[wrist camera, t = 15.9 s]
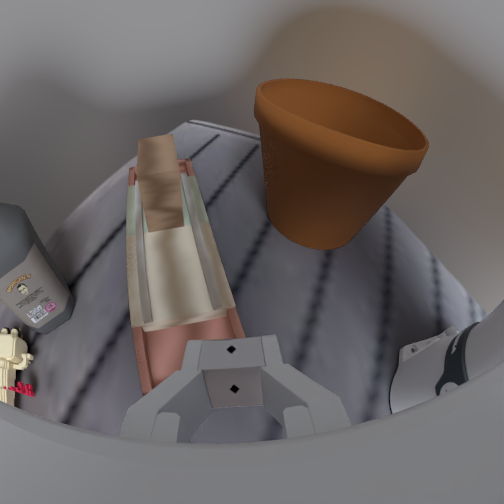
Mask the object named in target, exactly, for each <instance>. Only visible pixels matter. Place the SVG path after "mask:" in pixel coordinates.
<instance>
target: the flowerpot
mask: <svg viewBox="0 0 504 504" xmlns="http://www.w3.org/2000/svg"><path fill="white" fill-rule="evenodd" d="M254 116H255V118H256V120H257V121H258V123H259V128H260V138H261V148H262V158H263V168H264V178H265V189H266V200H267V210H268V216H269V218H270V221H271V222H272V224H273V225H274V227H275V228H276V229H277V230H278V231H279V232H280V233H281V234H282V235H284V236H285V237H286V238H288V239H289V240H291V241H293V242H295V243H297V244H299V245H302V246H305V247H308V248H313V249H321V250H329V249H336V248H339V247H342V246H344V245H345V244H347V243H348V242H349V241H350V240H351V239H352V238H353V237H354V236H355V235H356V234H357V233H358V232H359V231H360V230H361V228H362V227H363V226H364V225H365V224H366V223H367V222H368V221H369V220H370V219H371V217H372V216H373V215H374V214H375V213H376V212H377V211H378V210H379V209H380V207H381V206H382V205H383V204H384V203H385V202H386V200H387V199H388V198H389V197H390V196H391V195H392V194H393V193H394V191H395V190H396V189H397V188H398V187H399V186H400V184H401V183H402V182H403V181H404V180H405V178H406V177H407V176H409V175H411V174H413V173H415V172H416V171H417V170H418V168H419V167H420V165H421V163H422V160H423V158H424V156H425V154H426V152H427V150H428V147H429V143H428V140H427V138H426V136H425V135H424V134H423V133H422V131H421V130H420V129H419V128H418V127H416V125H414V124H413V123H412V122H410V120H408V119H407V118H406V117H404V116H403V115H401V114H400V113H398V112H397V111H395V110H393V109H392V108H390V107H388V106H386V105H384V104H383V103H380V102H379V101H376V100H374V99H372V98H370V97H368V96H365V95H362V94H360V93H357V92H354V91H352V90H349V89H346V88H342V87H339V86H335V85H331V84H327V83H322V82H317V81H310V80H302V79H275V80H270V81H265V82H263V83H261V84H259V86H258V87H257V90H256V98H255V105H254Z"/></svg>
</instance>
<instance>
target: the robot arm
mask: <svg viewBox="0 0 504 504" xmlns="http://www.w3.org/2000/svg"><path fill="white" fill-rule="evenodd" d="M411 350H412V351H413V353H412V351H411ZM390 404H391V410H392V414H390V415H387V416H384V417H381V418H378V419H374V420H371V421H368V422H364V423H360V424H357V425H353V426H351V424H350V421H349V419H348V416H347V414H346V411H345V409H344V406H343V404H342V402H341V399H340V397H338V396H337V395H335V394H333V393H332V392H330V391H329V390H327V389H325V388H324V387H322V386H321V385H319V384H318V383H316V382H315V381H313V380H312V379H310V378H308V377H307V376H305V375H304V374H302V373H301V372H299V371H298V370H296V369H295V368H293V367H292V366H291V365H289V364H283V360H282V356H281V352H280V348H279V343H278V339H277V335H276V334H272V335H264V336H259V337H249V338H237V339H210V340H189V341H188V342H187V345H186V349H185V353H184V357H183V362H182V366H181V371H175V372H174V373H173V374H172V375H170V376H169V377H168V378H167V379H165V380H164V381H163V382H161V383H160V384H159V385H158V386H156V387H155V388H154V389H153V390H151V391H150V392H149V393H147V394H146V395H145V396H144V397H142V398H141V399H140V400H138V401H137V402H136V403H134V404H133V405H132V406H131V407H129V408H128V410H127V413H126V416H125V419H124V422H123V425H122V428H121V431H120V434H119V436H114V435H109V434H104V433H99V432H94V431H90V430H85V429H81V428H77V427H73V426H70V425H66V424H63V423H59V422H56V421H53V420H50V419H47V418H44V417H41V416H38V415H35V414H32V413H29V412H27V411H24V410H22V409H19V408H17V407H14V406H12V405H10V404H7V403H5V402H3V401H1V400H0V504H504V300H503V301H502V302H501V303H500V304H499V306H497V308H495V310H494V311H493V312H491V313H490V314H489V315H488V316H487V317H486V318H484V319H483V320H482V321H481V322H477V323H474V324H472V325H470V326H468V327H467V328H465V329H464V330H462V331H461V332H459V331H457V330H456V328H455V326H451V327H449V328H448V329H446V330H445V331H444V332H443V333H441V334H439V335H438V336H435V337H432V338H428V339H425V340H422V341H419V342H416V343H412V344H409V345H406V346H404V347H402V348H401V349H400V352H399V366H398V369H397V372H396V374H395V376H394V379H393V382H392V386H391V392H390ZM258 405H263V406H264V408H265V409H266V410H267V411H268V412H269V413H270V414H271V415H272V416H273V417H274V418H275V419H276V420H277V421H278V422H279V423H280V424H281V425H282V426H283V432H282V439H279V440H270V441H260V442H247V443H226V444H193V443H192V442H191V440H190V437H191V436H192V435H193V433H194V432H195V431H196V430H197V428H198V427H199V426H200V425H201V423H202V422H203V421H204V420H205V418H206V417H207V416H208V415H209V413H210V412H211V411H212V408H225V407H239V406H258Z"/></svg>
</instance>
